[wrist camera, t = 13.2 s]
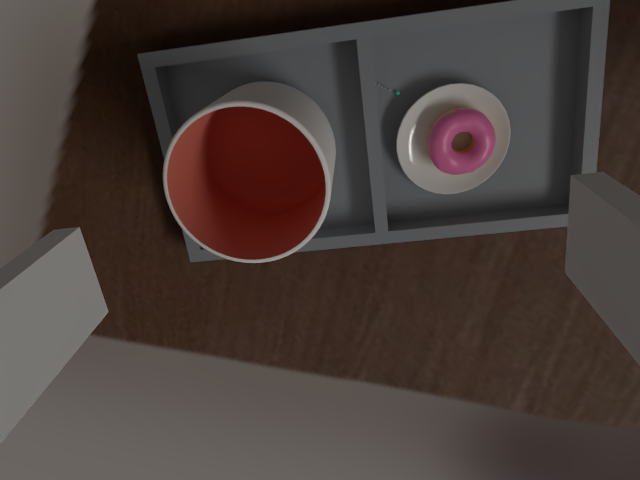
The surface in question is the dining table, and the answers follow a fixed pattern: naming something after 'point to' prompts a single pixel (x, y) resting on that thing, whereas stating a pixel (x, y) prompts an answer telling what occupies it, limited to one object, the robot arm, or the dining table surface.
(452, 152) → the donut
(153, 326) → the dining table surface
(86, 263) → the robot arm
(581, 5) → the carrier tray
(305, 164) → the cup
